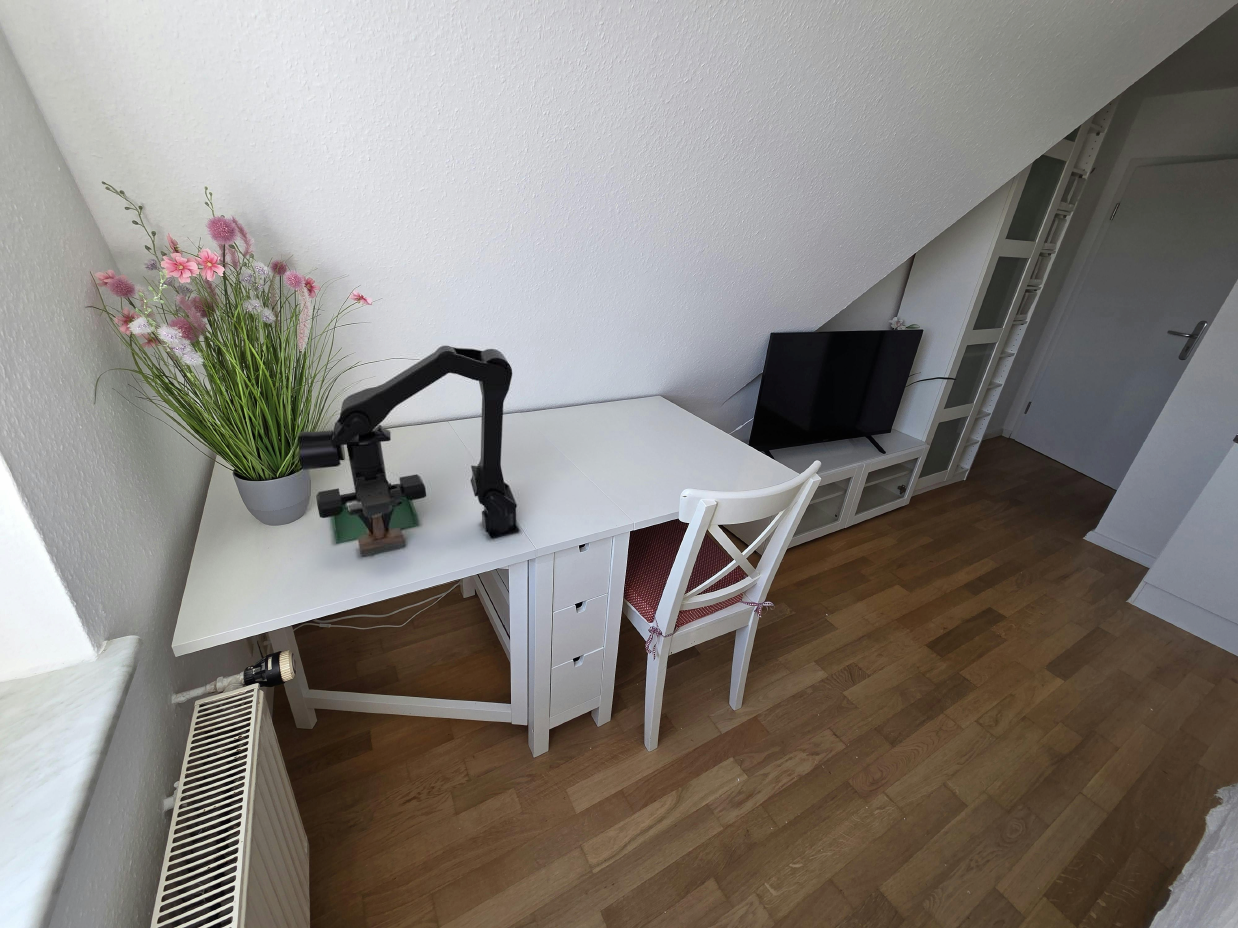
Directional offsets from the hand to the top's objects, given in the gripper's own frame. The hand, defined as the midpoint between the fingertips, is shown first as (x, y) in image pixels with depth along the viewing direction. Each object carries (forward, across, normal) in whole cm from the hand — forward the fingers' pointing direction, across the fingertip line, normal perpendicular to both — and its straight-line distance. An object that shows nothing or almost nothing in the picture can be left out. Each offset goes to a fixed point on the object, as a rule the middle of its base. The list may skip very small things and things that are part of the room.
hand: (379, 531), depth 103 cm
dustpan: (+4, 0, +16) cm, 16 cm away
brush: (+4, 0, 0) cm, 4 cm away
